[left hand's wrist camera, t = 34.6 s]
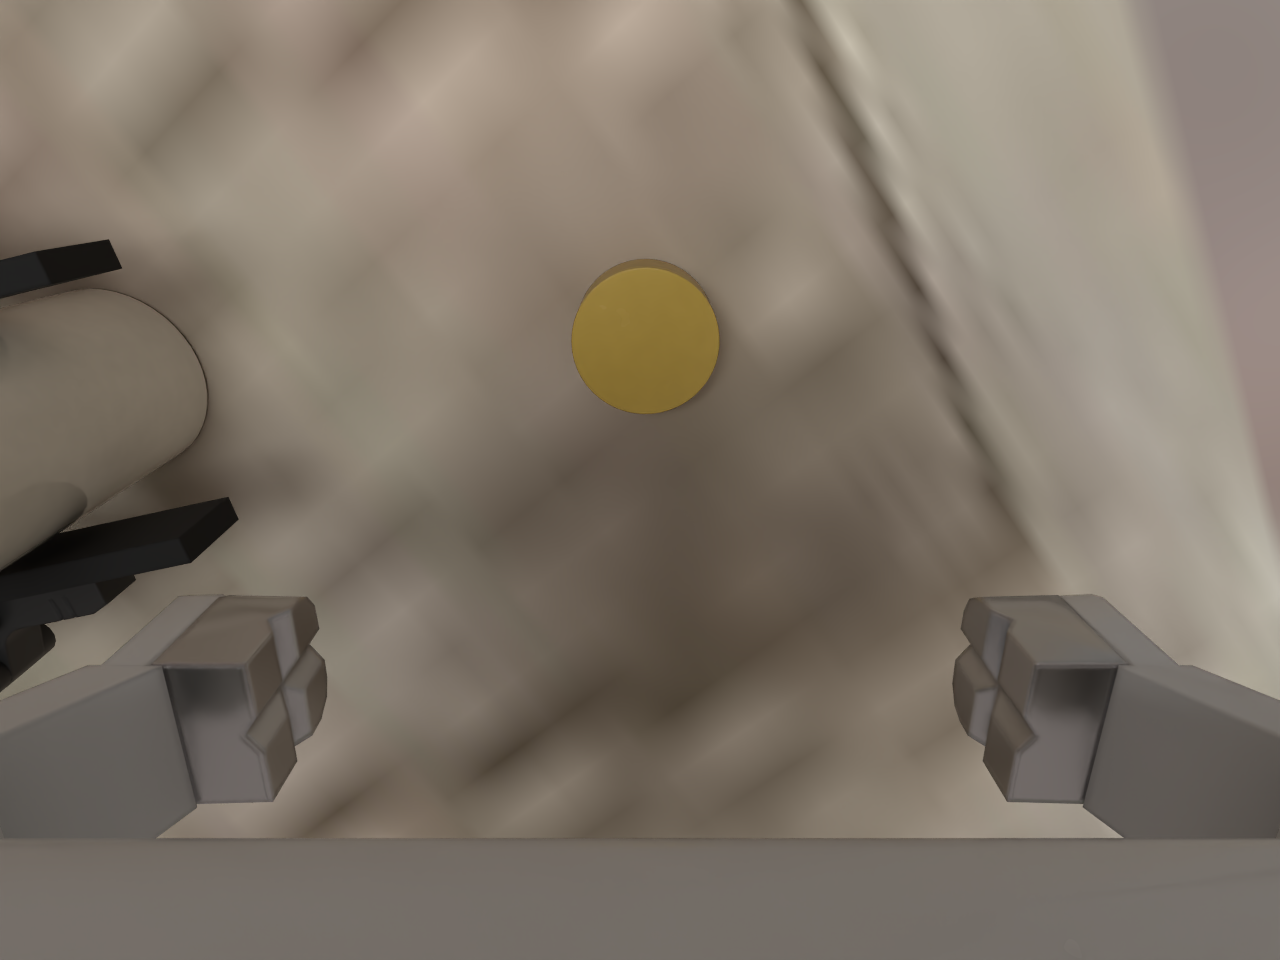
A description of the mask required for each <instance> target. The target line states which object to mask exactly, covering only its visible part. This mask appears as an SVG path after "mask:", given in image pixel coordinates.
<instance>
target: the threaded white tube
mask: <svg viewBox="0 0 1280 960" xmlns="http://www.w3.org/2000/svg"><path fill="white" fill-rule="evenodd" d="M206 410H207V388H206V381H205V378H204V374H203V371H202V368H201V366H200V363H199V361H198V358H197V357H196V355H195V353H194V351H193V349H192V348H191V346H190V345H189V343H188V342H187V341H186V339H185V338H184V336H183V335H182V334H181V333H180V332H179V331H178V330H177V329H176V327H175V326H174V325H173V324H171V323H170V322H169V321H168V320H167V319H166V318H165V317H164V316H162V315H161V314H160V313H158V312H157V311H155V310H154V309H153V308H151V307H149V306H147V305H146V304H144V303H142V302H140V301H138V300H136V299H134V298H131V297H129V296H126V295H123V294H120V293H117V292H113V291H108V290H103V289H77V290H72V291H68V292H63V293H59V294H55V295H51V296H47V297H43V298H39V299H35V300H31V301H26V302H22V303H18V304H14V305H10V306H6V307H2V308H0V571H2V570H3V569H5V568H6V567H8V566H9V565H11V564H12V563H14V562H16V561H17V560H19V559H20V558H22V557H23V556H25V555H26V554H28V553H29V552H31V551H32V550H34V549H35V548H37V547H38V546H40V545H42V544H43V543H45V542H46V541H48V540H49V539H51V538H52V537H54V536H55V535H57V534H58V533H60V532H61V531H63V530H65V529H66V528H68V527H69V526H71V525H72V524H74V523H75V522H77V521H78V520H80V519H81V518H83V517H84V516H86V515H88V514H89V513H91V512H92V511H94V510H95V509H97V508H98V507H100V506H101V505H103V504H104V503H106V502H107V501H109V500H111V499H112V498H114V497H115V496H117V495H118V494H120V493H121V492H123V491H124V490H126V489H127V488H129V487H130V486H132V485H133V484H135V483H137V482H138V481H140V480H141V479H143V478H144V477H146V476H147V475H149V474H150V473H152V472H153V471H155V470H156V469H158V468H160V467H161V466H163V465H164V464H166V463H167V462H169V461H170V460H172V459H173V458H175V457H176V456H178V455H179V454H181V453H182V452H183V451H185V450H186V449H187V448H188V447H189V446H190V445H191V444H192V443H193V441H194V440H195V439H196V437H197V436H198V434H199V432H200V430H201V428H202V426H203V423H204V419H205V416H206Z"/></svg>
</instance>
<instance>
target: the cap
mask: <svg viewBox="0 0 1280 960" xmlns="http://www.w3.org/2000/svg"><path fill="white" fill-rule="evenodd" d="M571 343H572V353H573V358H574V361H575V364H576V367H577V370H578V372H579V374H580V376H581V378H582V379H583V381H584V382H585V384H586V385H587V386H588V387H589V389H590V390H591V391H592V392H593V393H594V394H595V395H596V396H598V397H599V398H600V399H601V400H603V401H604V402H606V403H607V404H609V405H611V406H613V407H615V408H617V409H620V410H623V411H626V412H631V413H638V414H654V413H660V412H664V411H668V410H671V409H673V408H676V407H678V406H680V405H682V404H683V403H685V402H687V401H688V400H690V399H691V398H692V397H693V396H695V395H696V394H697V393H698V392H699V391H700V390H701V389H702V387H703V386H704V385H705V383H706V382H707V381H708V379H709V377H710V376H711V374H712V372H713V369H714V367H715V365H716V361H717V357H718V352H719V329H718V324H717V320H716V317H715V314H714V312H713V309H712V307H711V305H710V302H709V300H708V298H707V296H706V294H705V292H704V291H703V289H702V288H701V286H700V285H699V284H698V283H697V281H696V280H695V279H693V278H692V277H691V276H690V275H689V274H688V273H686V272H685V271H684V270H682V269H680V268H679V267H677V266H675V265H672V264H670V263H667V262H664V261H660V260H653V259H637V260H631V261H627V262H624V263H621V264H619V265H616V266H614V267H612V268H611V269H609V270H607V271H606V272H604V273H603V274H602V275H601V276H600V277H598V278H597V279H596V280H595V282H594V283H593V284H592V285H591V286H590V288H589V289H588V291H587V292H586V294H585V296H584V298H583V300H582V302H581V304H580V307H579V309H578V312H577V314H576V317H575V320H574V324H573V329H572V340H571Z"/></svg>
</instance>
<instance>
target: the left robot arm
mask: <svg viewBox="0 0 1280 960" xmlns="http://www.w3.org/2000/svg"><path fill="white" fill-rule="evenodd" d="M318 630H319V624H318V619H317V615H316V610H315V605H314V604H313V603H312V602H311V601H310V599H309V598H308V597H296V596H242V595H228V596H226V595H223V594H217V595H188V596H178V597H177V598H176V599H175V600H174V601H173V602H172V603H170V604H169V605H168V606H167V607H166V608H165V609H164V610H163V611H161V612H160V613H159V614H158V615H157V616H156V617H155V618H154V619H152V620H151V621H150V622H149V623H148V624H147V625H146V626H145V627H144V628H142V629H141V630H140V631H139V632H138V633H137V634H136V635H135V636H133V637H132V638H131V639H130V640H129V641H128V642H127V643H126V644H124V645H123V646H122V647H121V648H120V649H119V650H118V651H117V652H115V653H114V654H113V655H112V656H111V657H110V658H109V659H108V660H107V661H105V662H104V663H103V664H102V665H87V666H85V667H82V668H80V669H77V670H75V671H72V672H70V673H67V674H65V675H62V676H60V677H57V678H55V679H52V680H50V681H47V682H45V683H42V684H40V685H37V686H35V687H32V688H30V689H27V690H25V691H22V692H20V693H17V694H15V695H13V696H10V697H8V698H5V699H3V700H0V960H1280V700H1277V699H1275V698H1272V697H1270V696H1267V695H1265V694H1262V693H1260V692H1257V691H1255V690H1252V689H1250V688H1247V687H1245V686H1242V685H1240V684H1237V683H1235V682H1232V681H1230V680H1228V679H1225V678H1223V677H1220V676H1218V675H1215V674H1213V673H1210V672H1208V671H1205V670H1203V669H1200V668H1198V667H1195V666H1193V665H1178V664H1177V663H1176V662H1175V661H1174V660H1172V659H1171V658H1170V657H1169V656H1168V655H1167V654H1166V653H1165V652H1163V651H1162V650H1161V649H1160V648H1159V647H1158V646H1157V645H1156V644H1155V643H1153V642H1152V641H1151V640H1150V639H1149V638H1148V637H1147V636H1146V635H1144V634H1143V633H1142V632H1141V631H1140V630H1139V629H1138V628H1137V627H1136V626H1134V625H1133V624H1132V623H1131V622H1130V621H1129V620H1128V619H1127V618H1126V617H1124V616H1123V615H1122V614H1121V613H1120V612H1119V611H1118V610H1117V609H1115V608H1114V607H1113V606H1112V605H1111V604H1110V603H1109V602H1108V601H1107V600H1105V599H1104V598H1103V597H1100V596H1096V595H1093V594H1084V595H1062V596H1059V595H1041V596H1000V597H976V598H970V599H969V601H968V603H967V605H966V607H965V609H964V613H963V618H962V624H961V630H962V632H963V633H964V635H965V636H966V638H967V639H968V641H969V643H970V645H969V646H968V647H967V648H966V649H965V650H964V651H963V652H962V654H961V655H960V656H959V657H958V658H957V659H956V660H955V667H954V675H953V683H952V684H953V694H954V704H955V708H956V711H957V714H958V717H959V720H960V723H961V724H962V726H963V728H964V730H965V731H966V733H967V735H968V736H970V737H971V738H973V739H974V740H976V741H978V742H979V743H981V744H982V745H984V746H985V751H984V757H983V762H984V764H985V766H986V767H987V769H988V771H989V772H990V774H991V776H992V777H993V779H994V781H995V782H996V784H997V786H998V787H999V789H1000V791H1001V792H1002V794H1003V796H1004V797H1005V799H1006V801H1007V802H1033V803H1070V804H1083V808H1085V809H1086V810H1087V811H1089V812H1090V813H1091V814H1093V815H1094V816H1095V817H1097V818H1098V819H1099V820H1101V821H1102V822H1103V823H1105V824H1106V825H1107V826H1109V827H1110V828H1112V829H1113V830H1114V831H1116V832H1117V833H1118V834H1120V835H1121V836H1122V837H1124V838H157V837H158V836H159V835H161V834H162V833H163V832H165V831H166V830H167V829H169V828H170V827H171V826H173V825H174V824H175V823H177V822H178V821H180V820H181V819H182V818H184V817H185V816H186V815H188V814H189V813H190V812H192V811H193V810H194V809H196V808H197V804H209V803H245V802H273V801H274V799H275V797H276V796H277V794H278V792H279V791H280V789H281V787H282V786H283V784H284V782H285V781H286V779H287V777H288V776H289V774H290V772H291V771H292V769H293V767H294V766H295V764H296V762H297V757H296V751H295V746H296V745H298V744H299V743H301V742H302V741H304V740H306V739H307V738H309V737H310V736H312V735H313V733H314V731H315V730H316V728H317V726H318V724H319V722H320V721H321V718H322V714H323V710H324V706H325V702H326V698H327V673H326V666H325V660H324V659H323V658H322V657H321V656H320V655H319V654H318V653H317V651H316V650H315V649H314V648H313V647H312V646H311V645H310V643H311V641H312V639H313V638H314V636H315V635H316V633H317V632H318Z"/></svg>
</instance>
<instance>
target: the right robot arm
mask: <svg viewBox="0 0 1280 960" xmlns="http://www.w3.org/2000/svg"><path fill="white" fill-rule="evenodd" d="M118 269H122V267H121V265H120V262H119V260H118V258H117V256H116V254H115V252H114V250H113V247H112V245H111V243H110V241H109V239H108V240H102V241H96V242H90V243H84V244H78V245H72V246H66V247H60V248H54V249H48V250H42V251H36V252H31V253H27V254H24V255H20V256H16V257H12V258H8V259H4V260H0V298H4V297H8V296H12V295H16V294H20V293H24V292H28V291H32V290H37V289H41V288H45V287H49V286H53V285H57V284H61V283H65V282H69V281H73V280H77V279H81V278H85V277H89V276H93V275H97V274H101V273H105V272H109V271H114V270H118ZM237 520H239V519H238V517H237V515H236V513H235V510H234V508H233V506H232V504H231V502H230V500H229V497H226V498H221V499H216V500H212V501H207V502H202V503H198V504H193V505H188V506H184V507H179V508H175V509H170V510H165V511H161V512H156V513H151V514H147V515H142V516H138V517H133V518H128V519H124V520H119V521H114V522H110V523H105V524H101V525H96V526H91V527H87V528H82V529H77V530H73V531H68V532H63V533H59V534H57V535H55V536H54V537H52V538H51V539H49V540H48V541H46V542H45V543H43V544H42V545H40V546H38V547H37V548H35V549H34V550H32V551H31V552H29V553H28V554H26V555H25V556H23V557H22V558H20V559H19V560H17V561H16V562H14V563H12V564H11V565H9V566H8V567H6V568H5V569H3V570H2V571H0V692H1V691H2V690H4V689H5V688H6V687H7V686H9V685H10V684H11V683H12V682H13V681H15V680H16V679H17V678H18V677H19V676H20V675H22V674H23V673H24V672H25V671H26V670H28V669H29V668H30V667H31V666H32V665H34V664H35V663H36V662H37V661H38V660H39V659H41V658H42V657H43V656H44V655H45V654H46V653H48V652H49V651H50V650H51V649H52V648H53V647H54V646H55V642H56V639H55V635H54V633H53V632H52V631H51V629H50V628H49V627H47V626H46V625H45V624H46V623H51V622H56V621H61V620H63V619H64V620H66V619H71V618H74V617H80V616H85V615H90V614H94V613H96V612H97V611H98V610H100V609H101V608H103V607H104V606H105V605H107V604H108V603H109V602H110V601H111V600H113V599H114V598H115V597H116V596H117V595H119V594H120V593H121V592H122V591H123V590H124V589H126V588H127V587H128V586H129V585H130V584H132V583H133V582H134V581H135V580H136V579H135V577H134V575H135V574H140V573H144V572H149V571H154V570H159V569H164V568H168V567H173V566H178V565H183V564H188V563H191V562H192V561H193V560H195V559H196V558H197V557H198V556H199V555H200V554H201V553H202V552H203V551H204V550H206V549H207V548H208V547H209V546H210V545H211V544H212V543H213V542H214V541H215V540H217V539H218V538H219V537H220V536H221V535H222V534H223V533H224V532H225V531H226V530H228V529H229V528H230V527H231V526H232V525H233V524H234V523H235V522H236V521H237Z"/></svg>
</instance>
